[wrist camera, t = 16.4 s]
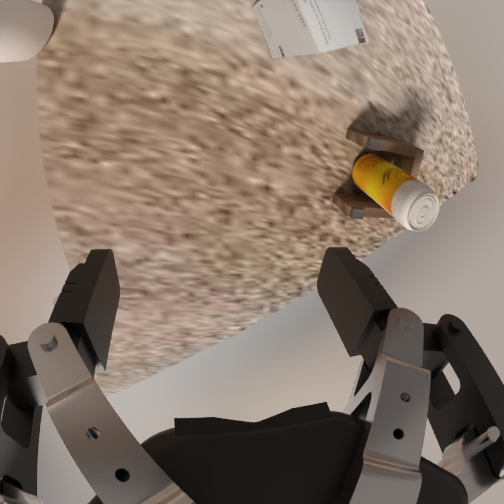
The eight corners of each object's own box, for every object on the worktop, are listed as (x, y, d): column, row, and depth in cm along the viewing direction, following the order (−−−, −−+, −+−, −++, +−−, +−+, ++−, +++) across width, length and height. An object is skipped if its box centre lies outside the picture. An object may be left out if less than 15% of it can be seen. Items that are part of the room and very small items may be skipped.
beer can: (386, 158, 42) (448, 197, 29) (373, 191, 45) (428, 238, 33) (357, 147, 40) (419, 184, 28) (344, 182, 43) (398, 230, 31)
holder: (347, 128, 38) (367, 137, 33) (405, 141, 40) (427, 152, 36) (332, 201, 45) (348, 218, 40) (388, 205, 47) (406, 221, 42)
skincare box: (249, 8, 27) (280, -28, 14) (291, -2, 26) (342, -35, 14) (273, 62, 31) (317, 54, 19) (314, 49, 31) (374, 42, 19)
